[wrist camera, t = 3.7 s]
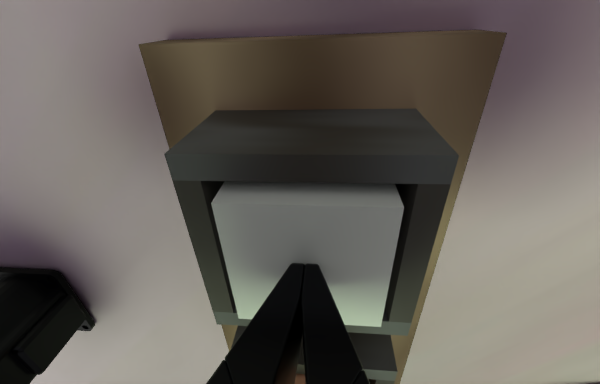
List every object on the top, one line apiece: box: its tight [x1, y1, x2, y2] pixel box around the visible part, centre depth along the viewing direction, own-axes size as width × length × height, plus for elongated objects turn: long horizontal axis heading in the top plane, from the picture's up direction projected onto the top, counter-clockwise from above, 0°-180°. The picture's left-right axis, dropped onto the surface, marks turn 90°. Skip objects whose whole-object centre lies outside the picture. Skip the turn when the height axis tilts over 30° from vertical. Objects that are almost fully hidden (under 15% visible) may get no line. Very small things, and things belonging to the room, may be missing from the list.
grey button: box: [211, 181, 404, 327], centre depth 10 cm, size 5×5×4 cm
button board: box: [139, 30, 507, 384], centre depth 14 cm, size 12×22×6 cm, turn 2°
